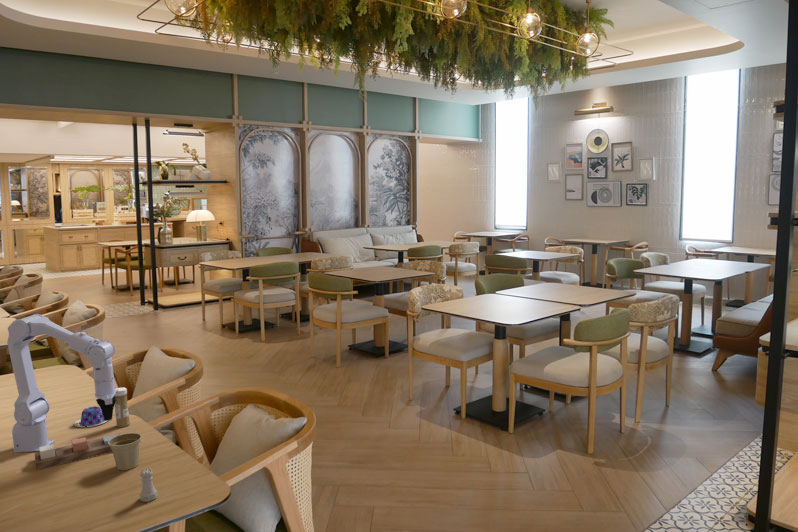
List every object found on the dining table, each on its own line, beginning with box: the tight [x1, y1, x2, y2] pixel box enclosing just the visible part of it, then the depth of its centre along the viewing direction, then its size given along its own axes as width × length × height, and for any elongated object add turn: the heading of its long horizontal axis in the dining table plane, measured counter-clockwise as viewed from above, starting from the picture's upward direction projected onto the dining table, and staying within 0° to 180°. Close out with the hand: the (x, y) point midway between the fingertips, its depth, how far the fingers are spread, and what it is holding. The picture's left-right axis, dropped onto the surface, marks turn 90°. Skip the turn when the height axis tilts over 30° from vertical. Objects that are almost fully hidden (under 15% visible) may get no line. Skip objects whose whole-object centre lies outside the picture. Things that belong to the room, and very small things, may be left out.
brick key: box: [71, 436, 88, 452], centre depth 198 cm, size 4×4×3 cm
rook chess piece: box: [139, 467, 158, 503], centre depth 167 cm, size 4×4×8 cm
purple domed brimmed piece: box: [73, 405, 109, 428], centre depth 226 cm, size 12×12×5 cm
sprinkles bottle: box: [114, 387, 131, 428], centre depth 220 cm, size 5×5×13 cm
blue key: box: [102, 434, 118, 445], centre depth 202 cm, size 4×4×3 cm
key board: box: [34, 434, 121, 471], centre depth 198 cm, size 25×9×2 cm, turn 122°
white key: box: [39, 443, 56, 460], centre depth 193 cm, size 4×4×3 cm
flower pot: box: [108, 432, 143, 471], centre depth 188 cm, size 9×9×9 cm
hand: (108, 419), depth 201 cm, fingers closed
